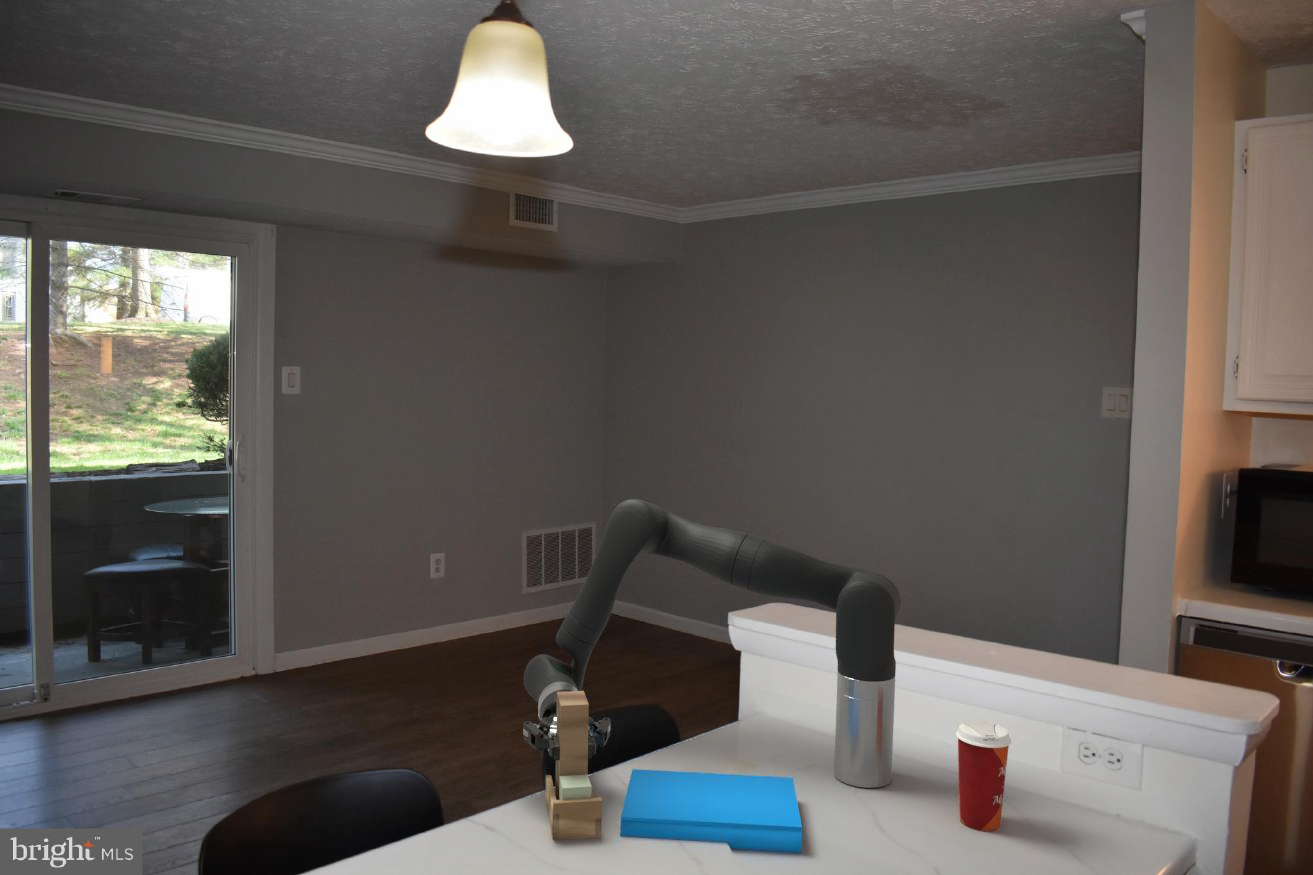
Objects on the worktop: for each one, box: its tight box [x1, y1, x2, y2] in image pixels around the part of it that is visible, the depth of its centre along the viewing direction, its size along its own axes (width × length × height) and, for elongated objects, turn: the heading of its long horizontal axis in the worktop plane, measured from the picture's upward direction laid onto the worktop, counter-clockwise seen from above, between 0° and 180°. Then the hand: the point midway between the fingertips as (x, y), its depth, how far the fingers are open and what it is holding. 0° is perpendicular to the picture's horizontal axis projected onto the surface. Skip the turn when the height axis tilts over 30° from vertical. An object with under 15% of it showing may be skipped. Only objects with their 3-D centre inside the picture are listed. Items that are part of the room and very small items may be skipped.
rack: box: [544, 774, 603, 841], centre depth 132 cm, size 13×7×6 cm, turn 11°
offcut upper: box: [559, 774, 592, 800], centre depth 129 cm, size 4×4×3 cm
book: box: [619, 768, 803, 853], centre depth 134 cm, size 17×4×25 cm
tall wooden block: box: [554, 690, 590, 800], centre depth 135 cm, size 6×4×16 cm, turn 11°
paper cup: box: [955, 720, 1012, 832], centre depth 135 cm, size 8×8×14 cm
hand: (574, 752), depth 132 cm, fingers closed on tall wooden block, 4 cm apart
